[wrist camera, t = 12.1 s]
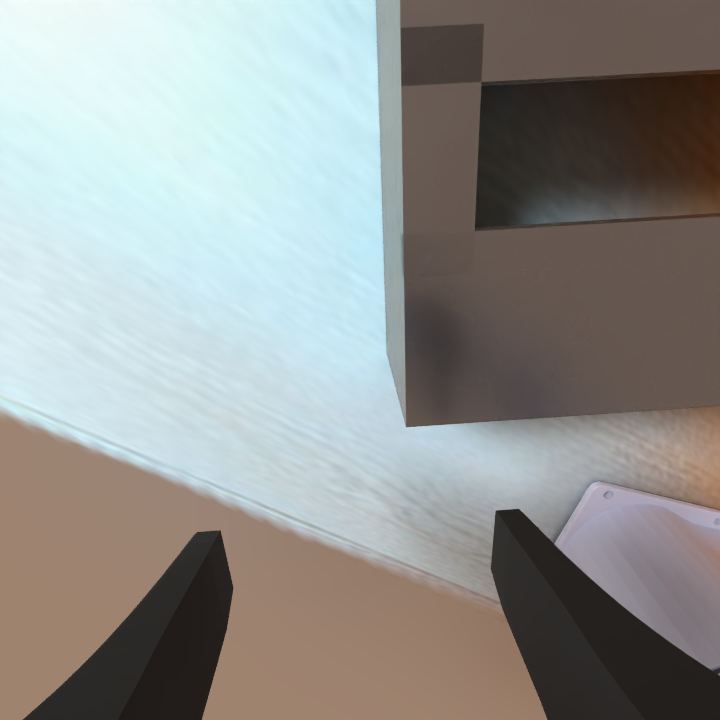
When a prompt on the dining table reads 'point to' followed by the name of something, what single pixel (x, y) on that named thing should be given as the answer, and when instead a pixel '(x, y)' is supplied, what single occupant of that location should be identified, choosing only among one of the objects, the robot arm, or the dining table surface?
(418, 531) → the dining table surface
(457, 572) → the dining table surface
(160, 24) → the dining table surface
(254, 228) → the dining table surface
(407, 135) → the housing
